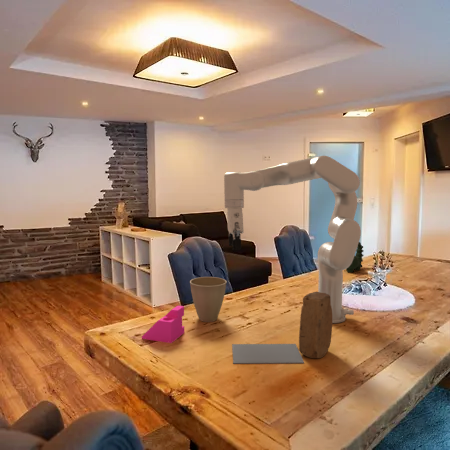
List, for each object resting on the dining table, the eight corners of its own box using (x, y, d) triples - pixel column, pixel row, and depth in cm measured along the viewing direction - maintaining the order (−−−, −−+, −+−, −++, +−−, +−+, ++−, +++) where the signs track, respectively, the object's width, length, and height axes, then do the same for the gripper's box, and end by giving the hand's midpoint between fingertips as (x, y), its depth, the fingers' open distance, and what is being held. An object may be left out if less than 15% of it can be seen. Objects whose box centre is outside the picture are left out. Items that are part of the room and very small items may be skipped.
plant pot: (197, 327, 150) (197, 287, 148) (185, 315, 164) (185, 278, 162) (232, 322, 156) (232, 283, 154) (218, 311, 170) (218, 275, 168)
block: (315, 362, 121) (319, 300, 118) (295, 353, 126) (299, 294, 124) (333, 352, 128) (337, 293, 126) (314, 344, 134) (317, 288, 131)
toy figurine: (352, 269, 259) (338, 272, 239) (353, 240, 258) (340, 242, 238) (366, 270, 253) (353, 274, 233) (368, 242, 253) (355, 243, 233)
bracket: (184, 332, 145) (184, 306, 144) (171, 343, 136) (170, 315, 135) (156, 328, 150) (155, 302, 148) (141, 338, 140) (141, 311, 139)
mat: (295, 344, 134) (295, 343, 134) (304, 363, 120) (304, 362, 120) (232, 345, 134) (232, 344, 134) (233, 363, 120) (233, 362, 120)
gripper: (248, 205, 143) (248, 250, 145) (239, 202, 160) (240, 243, 162) (228, 205, 142) (228, 251, 144) (221, 203, 159) (222, 244, 161)
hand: (234, 247), depth 153 cm, fingers open, 9 cm apart
